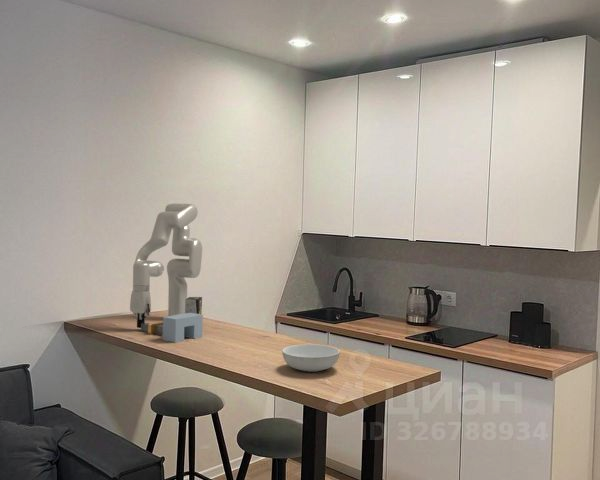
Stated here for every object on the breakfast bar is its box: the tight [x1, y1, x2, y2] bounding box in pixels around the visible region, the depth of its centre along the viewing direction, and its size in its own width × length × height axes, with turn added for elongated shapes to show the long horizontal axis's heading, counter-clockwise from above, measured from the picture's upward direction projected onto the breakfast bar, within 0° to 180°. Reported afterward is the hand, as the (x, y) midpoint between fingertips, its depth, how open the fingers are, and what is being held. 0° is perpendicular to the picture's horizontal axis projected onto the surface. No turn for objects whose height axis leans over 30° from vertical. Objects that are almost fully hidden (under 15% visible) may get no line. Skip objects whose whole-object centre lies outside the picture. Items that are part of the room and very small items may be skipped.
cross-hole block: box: [162, 313, 204, 344], centre depth 259 cm, size 8×16×10 cm, turn 144°
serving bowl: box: [281, 343, 341, 373], centre depth 214 cm, size 21×21×7 cm
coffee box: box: [185, 296, 203, 315], centre depth 273 cm, size 9×6×16 cm
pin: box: [140, 321, 163, 337], centre depth 268 cm, size 24×8×5 cm, turn 55°
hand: (140, 327), depth 276 cm, fingers closed
